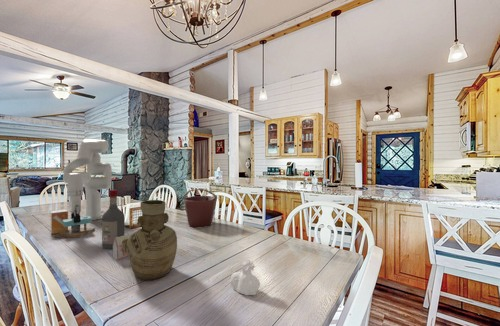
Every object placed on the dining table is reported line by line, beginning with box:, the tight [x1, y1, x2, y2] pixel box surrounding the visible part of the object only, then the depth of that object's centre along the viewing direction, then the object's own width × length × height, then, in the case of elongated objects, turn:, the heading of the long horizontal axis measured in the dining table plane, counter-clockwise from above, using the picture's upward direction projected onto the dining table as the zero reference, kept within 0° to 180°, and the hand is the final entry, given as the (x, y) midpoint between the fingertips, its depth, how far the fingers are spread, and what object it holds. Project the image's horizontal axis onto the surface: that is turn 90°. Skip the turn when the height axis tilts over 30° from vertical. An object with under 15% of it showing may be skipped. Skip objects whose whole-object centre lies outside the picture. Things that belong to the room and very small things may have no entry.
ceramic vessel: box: [122, 199, 178, 281], centre depth 97 cm, size 19×21×30 cm
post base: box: [54, 218, 96, 239], centre depth 143 cm, size 14×14×10 cm
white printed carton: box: [112, 234, 131, 261], centre depth 112 cm, size 4×7×10 cm, turn 147°
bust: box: [230, 260, 261, 296], centre depth 86 cm, size 12×8×11 cm
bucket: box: [182, 188, 218, 228], centre depth 167 cm, size 24×22×25 cm
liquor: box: [101, 189, 125, 250], centre depth 125 cm, size 9×9×30 cm
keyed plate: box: [63, 216, 92, 228], centre depth 144 cm, size 14×6×3 cm, turn 134°
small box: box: [50, 209, 69, 235], centre depth 147 cm, size 8×6×13 cm
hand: (75, 221), depth 143 cm, fingers open, 9 cm apart
